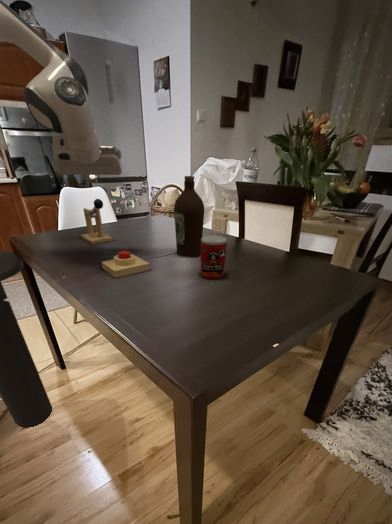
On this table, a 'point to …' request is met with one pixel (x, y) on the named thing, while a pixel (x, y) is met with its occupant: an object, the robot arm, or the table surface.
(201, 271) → the canned food
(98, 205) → the lever
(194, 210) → the olive oil
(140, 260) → the button block
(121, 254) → the button
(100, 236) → the bracket
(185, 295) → the table surface
